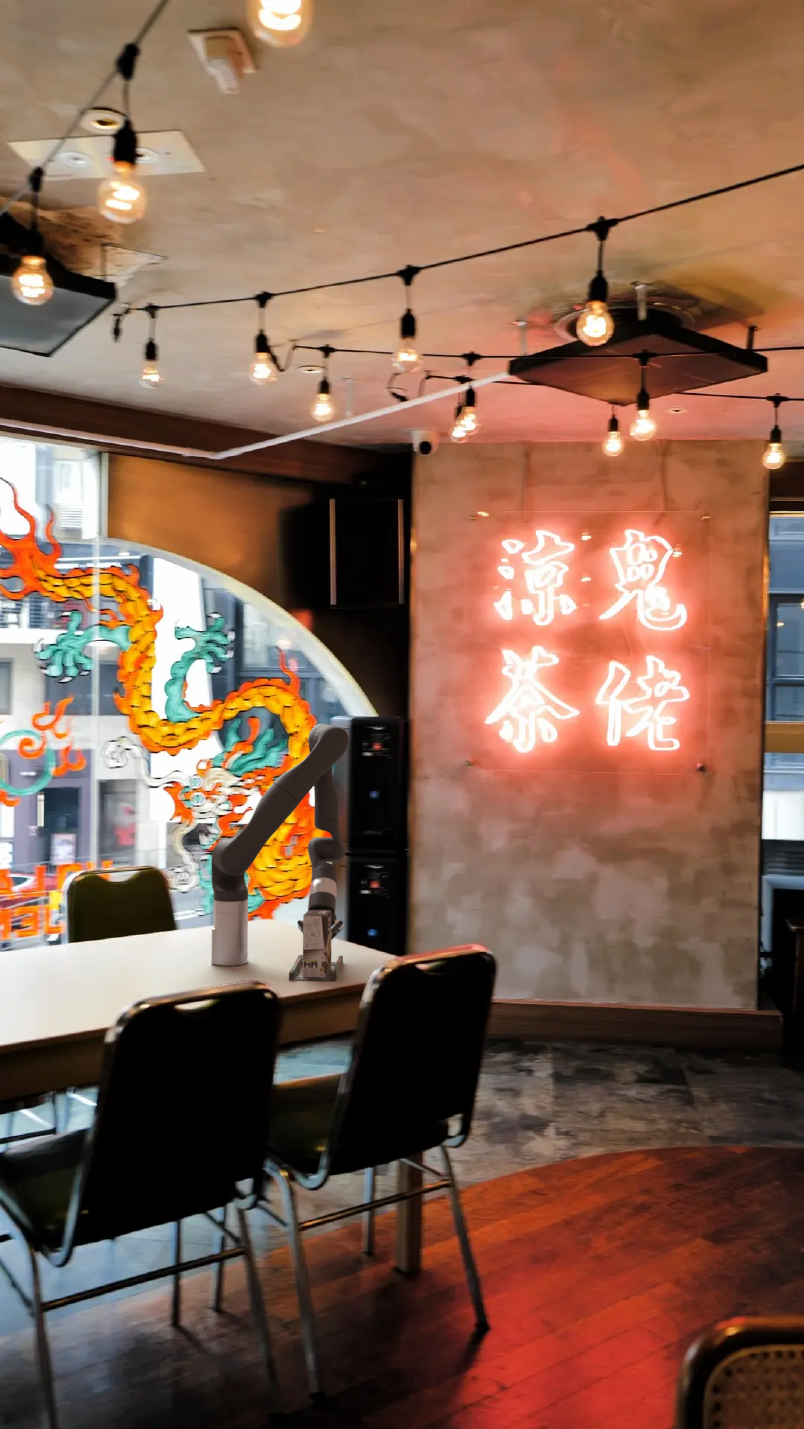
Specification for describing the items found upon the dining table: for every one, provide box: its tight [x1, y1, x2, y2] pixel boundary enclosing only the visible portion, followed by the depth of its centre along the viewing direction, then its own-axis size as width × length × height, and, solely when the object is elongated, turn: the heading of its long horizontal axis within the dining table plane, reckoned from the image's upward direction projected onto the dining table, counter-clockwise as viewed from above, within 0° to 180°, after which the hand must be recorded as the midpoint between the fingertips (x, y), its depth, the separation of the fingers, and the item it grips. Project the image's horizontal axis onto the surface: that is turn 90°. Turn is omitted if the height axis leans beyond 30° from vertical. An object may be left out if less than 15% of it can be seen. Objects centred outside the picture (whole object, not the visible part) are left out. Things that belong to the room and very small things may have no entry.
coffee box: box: [302, 910, 332, 978], centre depth 295 cm, size 9×6×16 cm
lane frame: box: [288, 954, 344, 982], centre depth 298 cm, size 12×21×2 cm, turn 178°
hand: (318, 953), depth 300 cm, fingers closed
